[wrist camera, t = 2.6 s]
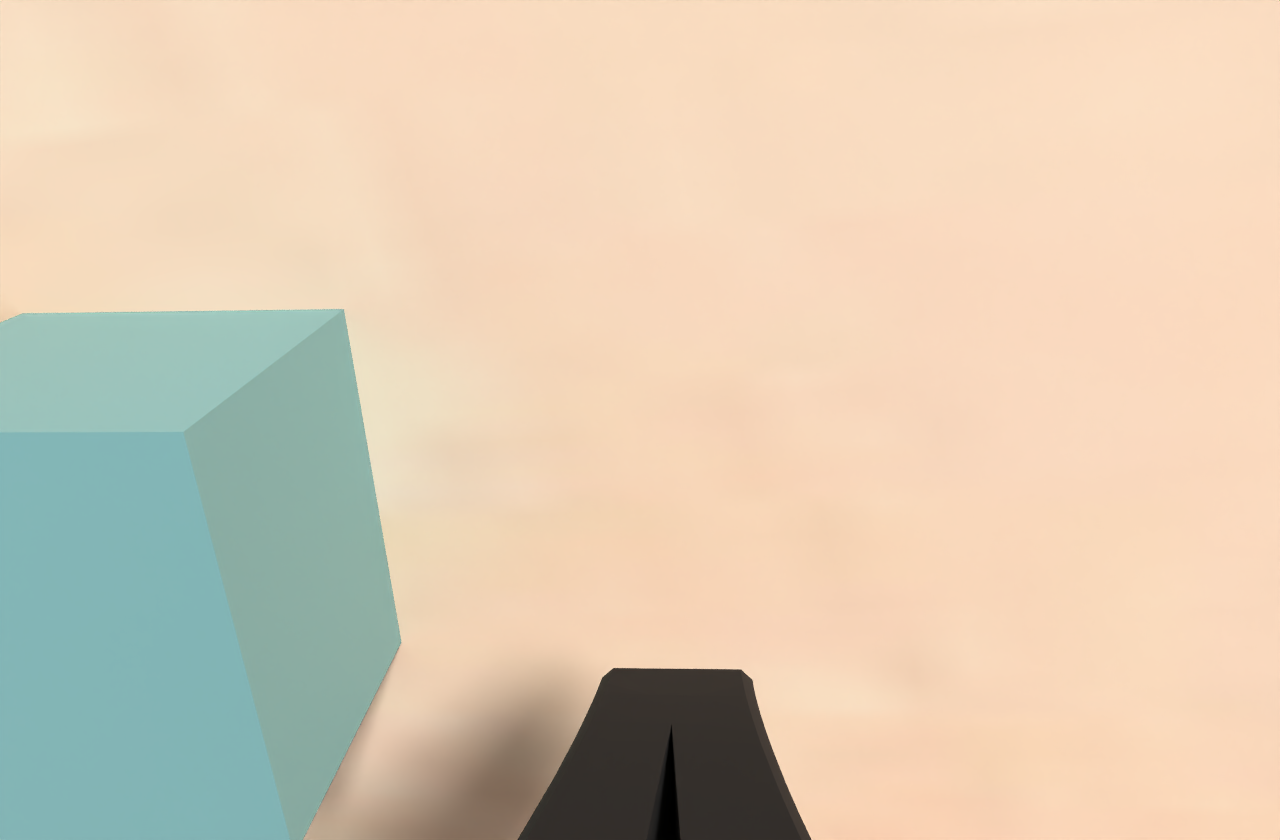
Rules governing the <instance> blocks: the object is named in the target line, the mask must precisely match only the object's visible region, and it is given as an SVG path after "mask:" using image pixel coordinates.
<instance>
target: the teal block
mask: <svg viewBox="0 0 1280 840" xmlns="http://www.w3.org/2000/svg"><path fill="white" fill-rule="evenodd" d="M400 644H401V638H400V632H399V626H398V620H397V614H396V609H395V603H394V597H393V591H392V586H391V580H390V574H389V568H388V562H387V557H386V551H385V545H384V539H383V533H382V528H381V522H380V516H379V510H378V505H377V499H376V493H375V487H374V481H373V476H372V470H371V464H370V458H369V452H368V447H367V441H366V435H365V429H364V423H363V418H362V412H361V406H360V400H359V395H358V389H357V383H356V377H355V371H354V366H353V360H352V354H351V348H350V342H349V337H348V331H347V325H346V319H345V314H344V309H324V310H249V311H174V312H99V313H24V314H20V315H17V316H15V317H13V318H10V319H8V320H5V321H3V322H0V840H303V838H304V836H305V834H306V832H307V830H308V828H309V826H310V824H311V822H312V820H313V818H314V816H315V814H316V812H317V810H318V808H319V806H320V804H321V802H322V800H323V798H324V796H325V794H326V792H327V790H328V788H329V786H330V784H331V782H332V780H333V778H334V776H335V774H336V772H337V770H338V768H339V766H340V764H341V762H342V760H343V758H344V756H345V754H346V752H347V750H348V748H349V746H350V744H351V742H352V740H353V738H354V736H355V734H356V732H357V730H358V728H359V726H360V724H361V722H362V720H363V718H364V716H365V714H366V712H367V710H368V708H369V706H370V704H371V702H372V700H373V698H374V696H375V694H376V692H377V690H378V688H379V686H380V684H381V682H382V680H383V678H384V676H385V674H386V672H387V670H388V668H389V666H390V664H391V662H392V660H393V658H394V656H395V654H396V652H397V650H398V648H399V646H400Z"/></svg>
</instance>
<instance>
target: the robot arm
mask: <svg viewBox="0 0 1280 840" xmlns="http://www.w3.org/2000/svg"><path fill="white" fill-rule="evenodd" d="M518 840H811V838H810V836H809V834H808V831H807V829H806V827H805V825H804V823H803V821H802V819H801V817H800V815H799V813H798V810H797V808H796V806H795V803H794V801H793V799H792V797H791V794H790V792H789V790H788V787H787V785H786V783H785V780H784V778H783V775H782V773H781V770H780V767H779V765H778V762H777V760H776V757H775V755H774V752H773V750H772V747H771V744H770V741H769V739H768V736H767V733H766V730H765V727H764V724H763V721H762V718H761V715H760V711H759V708H758V704H757V700H756V696H755V692H754V687H753V681H752V679H751V678H750V677H748V676H747V675H746V674H745V673H744V672H743V671H742V670H733V669H639V668H613V669H612V670H611V671H610V672H608V673H607V674H606V675H605V676H604V677H603V678H602V680H601V682H600V685H599V687H598V690H597V692H596V695H595V697H594V700H593V702H592V704H591V706H590V708H589V710H588V713H587V715H586V717H585V719H584V721H583V723H582V725H581V727H580V729H579V731H578V733H577V735H576V737H575V739H574V741H573V743H572V745H571V747H570V749H569V751H568V753H567V755H566V756H565V758H564V760H563V762H562V764H561V766H560V768H559V770H558V771H557V773H556V775H555V777H554V779H553V781H552V782H551V784H550V786H549V787H548V789H547V791H546V793H545V794H544V796H543V798H542V799H541V801H540V803H539V804H538V806H537V808H536V809H535V811H534V813H533V815H532V816H531V818H530V820H529V821H528V823H527V825H526V826H525V828H524V830H523V832H522V833H521V835H520V837H519V838H518Z"/></svg>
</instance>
